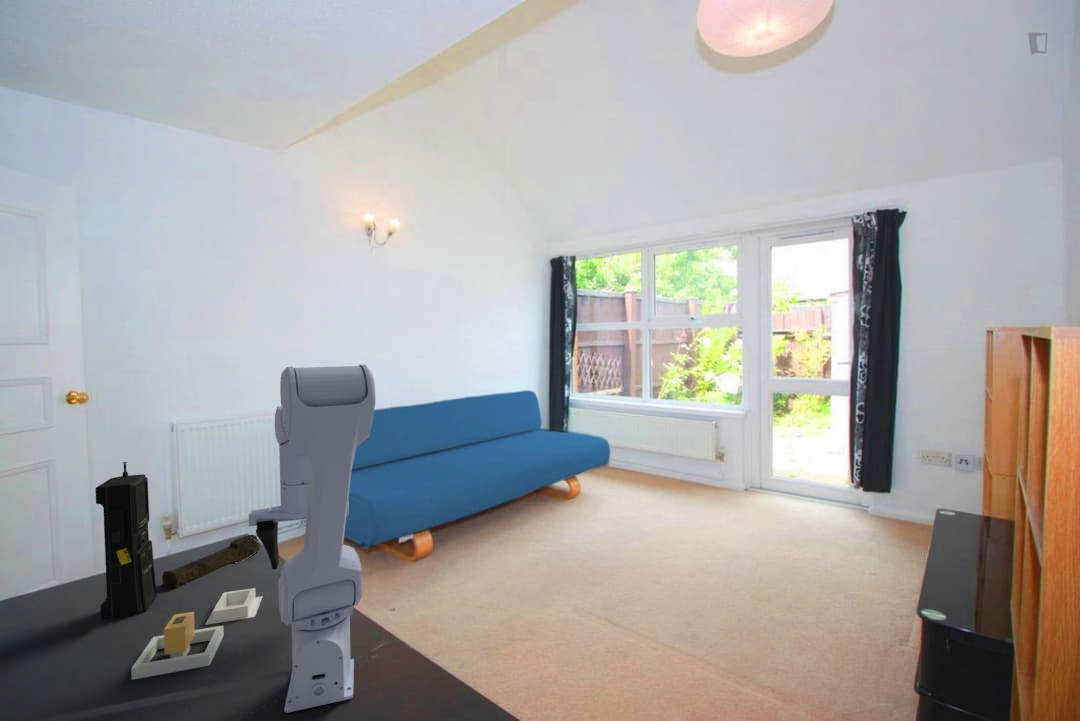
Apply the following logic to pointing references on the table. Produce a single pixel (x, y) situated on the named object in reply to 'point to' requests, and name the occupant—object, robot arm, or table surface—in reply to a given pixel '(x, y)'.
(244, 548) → the dark brown log
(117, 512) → the portable radio
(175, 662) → the parts tray
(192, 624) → the block
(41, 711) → the table surface
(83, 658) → the table surface
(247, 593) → the white open box
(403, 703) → the table surface
